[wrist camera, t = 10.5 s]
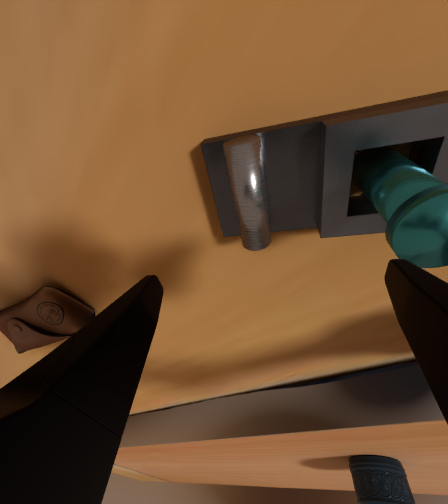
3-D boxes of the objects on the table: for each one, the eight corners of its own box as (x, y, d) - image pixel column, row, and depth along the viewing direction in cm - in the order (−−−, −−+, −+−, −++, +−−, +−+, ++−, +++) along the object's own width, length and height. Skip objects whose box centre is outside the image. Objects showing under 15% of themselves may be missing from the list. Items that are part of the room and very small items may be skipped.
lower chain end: (419, 207, 19) (449, 234, 16) (225, 227, 22) (220, 253, 19) (458, 88, 14) (511, 95, 11) (204, 138, 18) (192, 154, 15)
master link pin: (397, 187, 18) (480, 265, 11) (341, 194, 19) (385, 270, 12) (411, 131, 16) (528, 185, 9) (346, 142, 17) (405, 199, 10)
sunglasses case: (41, 283, 29) (39, 338, 27) (95, 286, 35) (97, 331, 33) (-16, 316, 37) (-21, 361, 35) (37, 314, 43) (35, 353, 41)
